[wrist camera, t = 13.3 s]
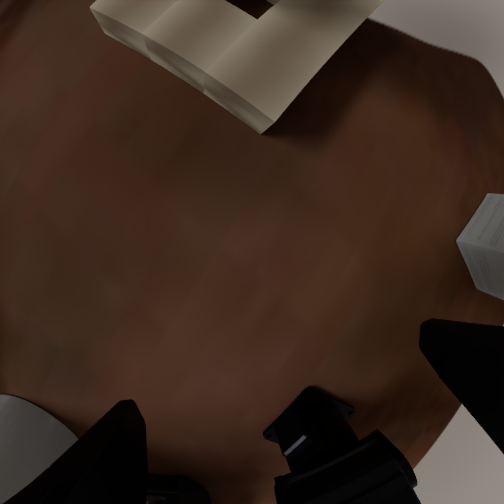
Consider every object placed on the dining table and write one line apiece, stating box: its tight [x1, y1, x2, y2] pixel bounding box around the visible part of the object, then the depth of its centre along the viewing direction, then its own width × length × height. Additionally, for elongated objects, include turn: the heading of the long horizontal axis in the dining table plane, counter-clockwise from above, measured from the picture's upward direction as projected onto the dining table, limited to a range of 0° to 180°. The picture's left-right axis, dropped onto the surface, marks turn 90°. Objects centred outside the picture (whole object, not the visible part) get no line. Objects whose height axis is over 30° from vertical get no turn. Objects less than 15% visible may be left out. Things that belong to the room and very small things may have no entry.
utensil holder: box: [0, 394, 78, 504], centre depth 12 cm, size 15×15×18 cm
